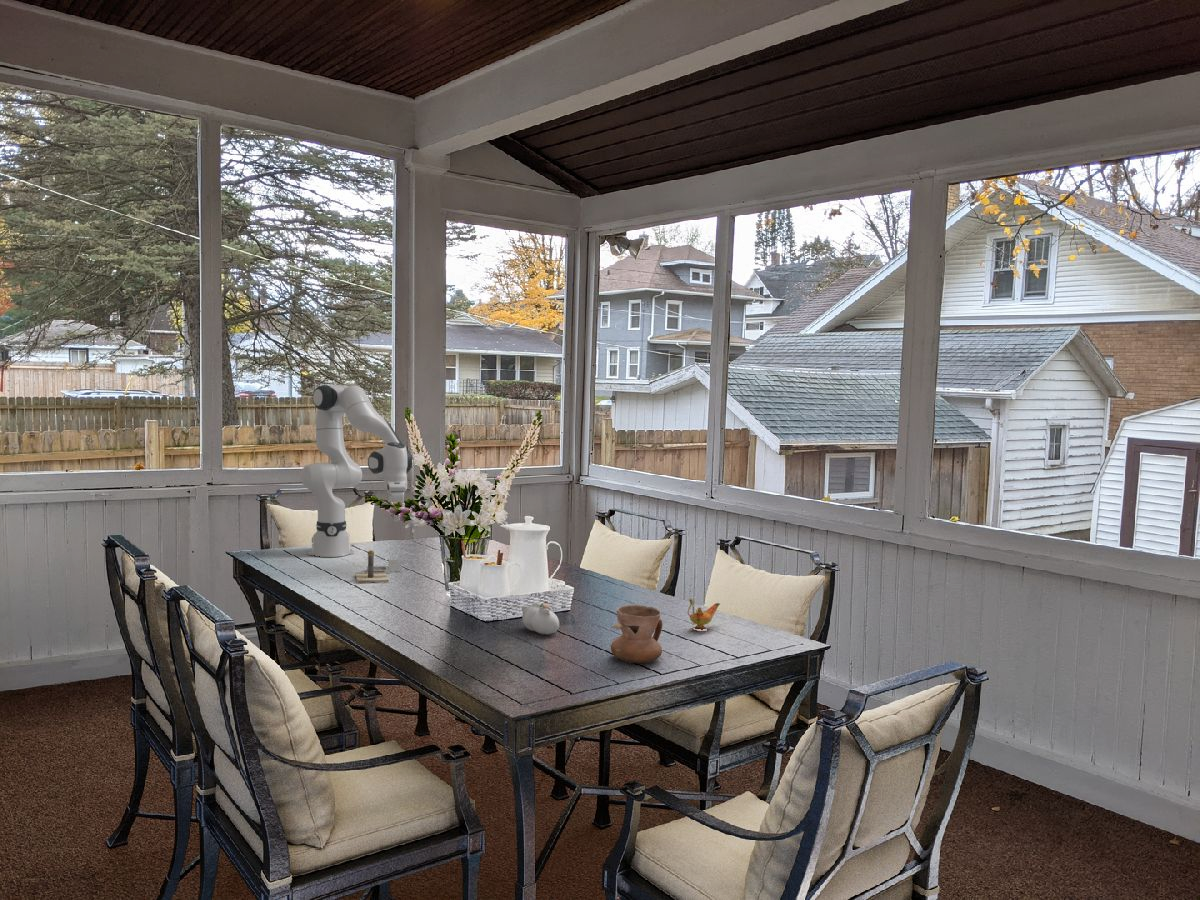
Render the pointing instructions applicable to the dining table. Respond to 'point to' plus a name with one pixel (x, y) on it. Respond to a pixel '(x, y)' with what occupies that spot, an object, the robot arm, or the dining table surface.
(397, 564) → the link
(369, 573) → the peg stand
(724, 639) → the dining table surface
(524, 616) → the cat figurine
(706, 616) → the magic lamp
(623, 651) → the ceramic jug
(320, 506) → the robot arm
